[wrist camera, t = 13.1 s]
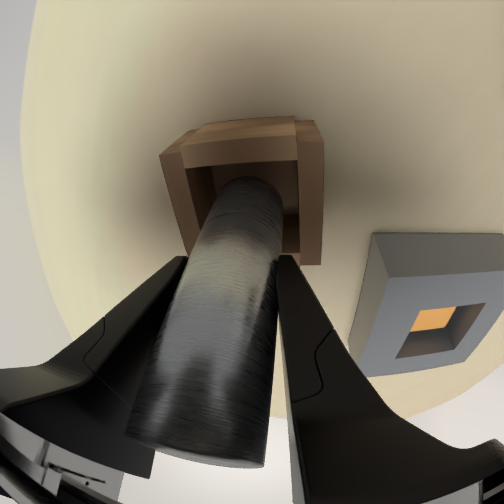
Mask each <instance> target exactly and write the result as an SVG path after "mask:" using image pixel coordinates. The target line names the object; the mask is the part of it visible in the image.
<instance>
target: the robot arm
mask: <svg viewBox="0 0 504 504" xmlns="http://www.w3.org/2000/svg"><path fill="white" fill-rule="evenodd" d="M188 259H189V258H188V257H187V256H176V257H175V258H173V259H172V260H171V261H170V262H168V263H167V264H166V265H165V266H163V267H162V268H161V269H160V270H158V271H157V272H156V273H155V274H153V275H152V276H151V277H150V278H149V279H147V280H146V281H145V282H144V283H143V284H141V285H140V286H139V287H138V288H137V289H135V290H134V291H133V292H132V293H131V294H129V295H128V296H127V297H126V298H125V299H123V300H122V301H121V302H120V303H119V304H118V305H116V306H115V307H114V308H113V309H112V310H111V311H109V312H108V313H107V314H106V315H105V317H102V318H101V319H100V320H99V321H98V322H97V323H96V324H94V325H93V326H92V327H91V328H90V329H88V330H87V331H86V332H85V333H84V334H82V335H81V336H80V337H79V338H77V339H76V340H75V341H73V342H72V343H71V344H70V345H68V346H67V347H66V348H64V349H63V350H62V351H60V352H59V353H58V354H57V355H55V356H54V357H53V358H51V359H50V360H49V361H47V362H45V363H43V364H40V365H37V366H30V367H20V368H7V369H0V495H3V496H6V497H9V498H12V499H14V500H15V501H16V502H17V503H18V504H122V503H120V502H117V500H118V496H119V492H120V488H121V484H122V480H123V476H124V472H125V473H128V474H132V475H135V476H139V477H143V478H147V479H149V478H150V475H151V470H152V464H153V459H154V455H155V450H153V449H151V448H148V447H146V446H143V445H141V444H139V443H136V442H134V441H132V440H131V439H129V438H127V437H126V436H125V435H124V433H125V429H126V426H127V423H128V420H129V416H130V413H131V410H132V407H133V404H134V401H135V398H136V395H137V392H138V389H139V386H140V383H141V380H142V377H143V374H144V371H145V369H146V366H147V363H148V360H149V357H150V355H151V352H152V349H153V346H154V344H155V341H156V338H157V336H158V333H159V330H160V328H161V325H162V323H163V320H164V318H165V315H166V312H167V310H168V307H169V305H170V302H171V300H172V297H173V295H174V292H175V290H176V288H177V285H178V283H179V280H180V278H181V276H182V273H183V271H184V268H185V266H186V264H187V261H188ZM276 285H277V299H278V314H279V329H280V339H281V350H282V361H283V372H284V384H285V396H286V408H287V420H288V434H289V447H290V462H291V477H292V494H293V503H294V504H504V445H503V444H502V443H500V442H499V441H498V440H496V439H492V440H489V441H487V442H485V443H483V444H480V445H477V446H475V447H472V448H468V449H459V448H455V447H452V446H449V445H447V444H445V443H443V442H442V441H440V440H438V439H436V438H435V437H433V436H431V435H429V434H428V433H426V432H424V431H423V430H421V429H419V428H418V427H416V426H414V425H413V424H411V423H409V422H407V421H406V420H404V419H403V418H401V417H400V416H398V415H397V414H396V413H394V412H393V411H392V410H391V409H390V408H389V407H388V406H387V405H386V404H385V402H384V401H383V400H382V398H381V397H380V396H379V394H378V393H377V392H376V390H375V389H374V387H373V386H372V385H371V383H370V382H369V381H368V379H367V378H366V377H365V375H364V374H363V373H362V371H361V370H360V369H359V367H358V366H357V364H356V363H355V361H354V360H353V359H352V357H351V356H350V354H349V353H348V351H347V349H346V348H345V346H344V344H343V343H342V341H341V339H340V338H339V336H338V334H337V332H336V330H335V329H334V327H333V325H332V324H331V322H330V320H329V318H328V316H327V315H326V313H325V311H324V309H323V308H322V306H321V304H320V302H319V300H318V299H317V297H316V295H315V293H314V292H313V290H312V288H311V287H310V285H309V283H308V281H307V280H306V278H305V276H304V274H303V273H302V271H301V269H300V268H299V266H298V264H297V263H296V261H295V259H294V257H293V256H292V255H279V258H278V268H277V277H276Z"/></svg>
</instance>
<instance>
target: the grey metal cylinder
mask: <svg viewBox="0 0 504 504" xmlns="http://www.w3.org/2000/svg"><path fill="white" fill-rule="evenodd" d="M282 232H283V200H282V197H281V195H280V193H279V192H278V190H277V189H276V188H275V187H274V186H273V185H272V184H271V183H269V182H268V181H266V180H264V179H261V178H259V177H254V176H241V177H237V178H234V179H232V180H230V181H228V182H227V183H226V184H225V185H224V186H223V187H222V188H221V190H220V191H219V193H218V195H217V197H216V199H215V202H214V204H213V206H212V208H211V210H210V212H209V214H208V217H207V219H206V221H205V223H204V225H203V228H202V230H201V232H200V234H199V236H198V239H197V241H196V243H195V245H194V248H193V250H192V252H191V255H190V257H189V259H188V261H187V264H186V266H185V268H184V271H183V273H182V276H181V278H180V280H179V283H178V285H177V288H176V290H175V292H174V295H173V297H172V300H171V302H170V305H169V307H168V310H167V312H166V315H165V318H164V320H163V323H162V325H161V328H160V330H159V333H158V336H157V338H156V341H155V344H154V346H153V349H152V352H151V355H150V357H149V360H148V363H147V366H146V369H145V371H144V374H143V377H142V380H141V383H140V386H139V389H138V392H137V395H136V398H135V401H134V404H133V407H132V410H131V413H130V416H129V420H128V423H127V426H126V429H125V433H124V435H125V436H126V437H127V438H129V439H131V440H132V441H134V442H136V443H139V444H141V445H143V446H146V447H148V448H151V449H153V450H156V451H159V452H162V453H165V454H168V455H171V456H175V457H178V458H182V459H186V460H190V461H194V462H199V463H204V464H209V465H216V466H223V467H233V468H262V467H264V462H265V453H266V444H267V435H268V426H269V416H270V406H271V395H272V384H273V373H274V361H275V348H276V335H277V321H278V299H277V285H276V277H277V268H278V258H279V255H281V253H282Z"/></svg>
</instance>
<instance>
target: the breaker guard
mask: <svg viewBox="0 0 504 504" xmlns="http://www.w3.org/2000/svg"><path fill="white" fill-rule="evenodd" d="M449 307H456V309H455V311H454V312H453V314H452V316H451V317H450V319H449V321H448V323H447V324H446V326H445V327H443V328H436V329H429V330H420V331H412V332H410V330H411V328H412V326H413V324H414V322H415V320H416V318H417V316H418V314H419V312H420V311H421V310H431V309H440V308H449ZM503 310H504V235H503V234H466V233H373V234H372V240H371V245H370V251H369V256H368V261H367V266H366V271H365V276H364V281H363V285H362V289H361V294H360V298H359V302H358V306H357V310H356V314H355V318H354V322H353V325H352V329H351V333H350V336H349V340H348V343H349V352H350V356H351V357H352V359H353V360H354V361H355V363H356V364H357V366H358V367H359V369H360V370H361V371H362V373H363V374H364V375H365V377H375V376H384V375H393V374H400V373H407V372H414V371H420V370H426V369H432V368H437V367H442V366H447V365H452V364H456V363H461V362H465V360H466V359H467V358H468V357H469V356H470V354H471V353H472V352H473V351H474V350H475V348H476V347H477V346H478V345H479V343H480V342H481V341H482V339H483V338H484V337H485V335H486V334H487V333H488V331H489V330H490V329H491V327H492V326H493V324H494V323H495V322H496V320H497V319H498V317H499V316H500V314H501V313H502V311H503Z"/></svg>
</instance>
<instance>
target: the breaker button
mask: <svg viewBox="0 0 504 504" xmlns="http://www.w3.org/2000/svg"><path fill="white" fill-rule="evenodd" d="M455 309H456V307H449V308H440V309H431V310H421V311H420V312H419V314H418V316H417V318H416V320H415V322H414V324H413V326H412V328H411V330H410V332H412V331H420V330H429V329H436V328H443V327H445V326H446V324H447V323H448V321H449V319H450V317H451V316H452V314H453V312H454V311H455Z"/></svg>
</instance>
